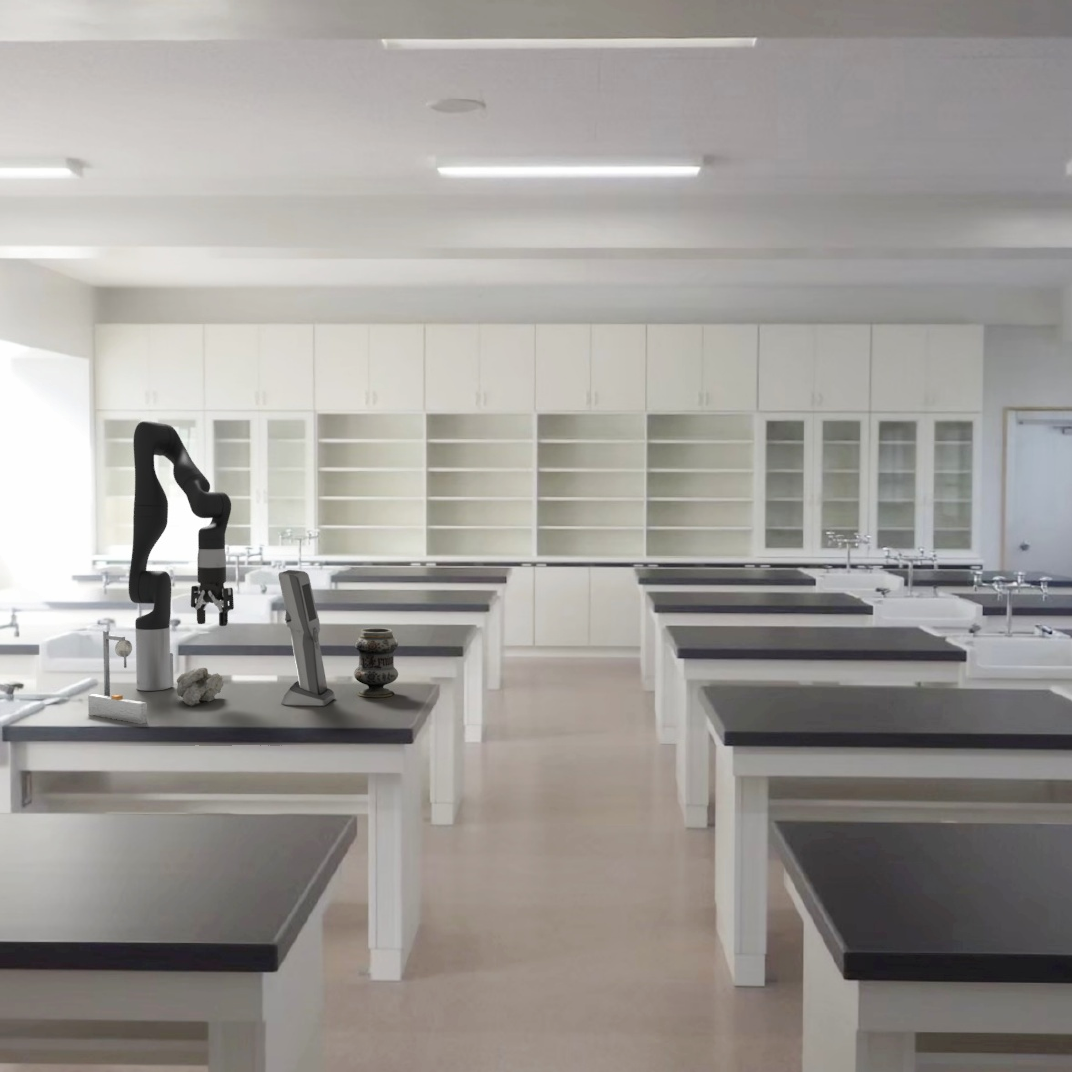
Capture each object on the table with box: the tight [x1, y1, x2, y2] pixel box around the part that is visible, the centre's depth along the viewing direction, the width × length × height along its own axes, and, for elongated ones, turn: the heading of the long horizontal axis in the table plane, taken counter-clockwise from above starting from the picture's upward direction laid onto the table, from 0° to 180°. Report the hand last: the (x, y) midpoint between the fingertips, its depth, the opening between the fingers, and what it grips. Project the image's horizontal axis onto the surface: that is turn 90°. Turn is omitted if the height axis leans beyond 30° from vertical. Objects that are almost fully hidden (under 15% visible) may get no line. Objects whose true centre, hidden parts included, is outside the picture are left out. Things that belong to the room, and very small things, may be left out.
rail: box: [87, 693, 148, 725], centre depth 316 cm, size 2×20×6 cm, turn 57°
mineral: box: [175, 667, 224, 707], centre depth 338 cm, size 12×17×10 cm
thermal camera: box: [278, 569, 336, 707], centre depth 337 cm, size 12×13×35 cm
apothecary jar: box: [353, 627, 399, 699], centre depth 348 cm, size 12×12×18 cm
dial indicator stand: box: [102, 630, 133, 697], centre depth 332 cm, size 6×11×20 cm, turn 57°
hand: (212, 624), depth 345 cm, fingers open, 8 cm apart
